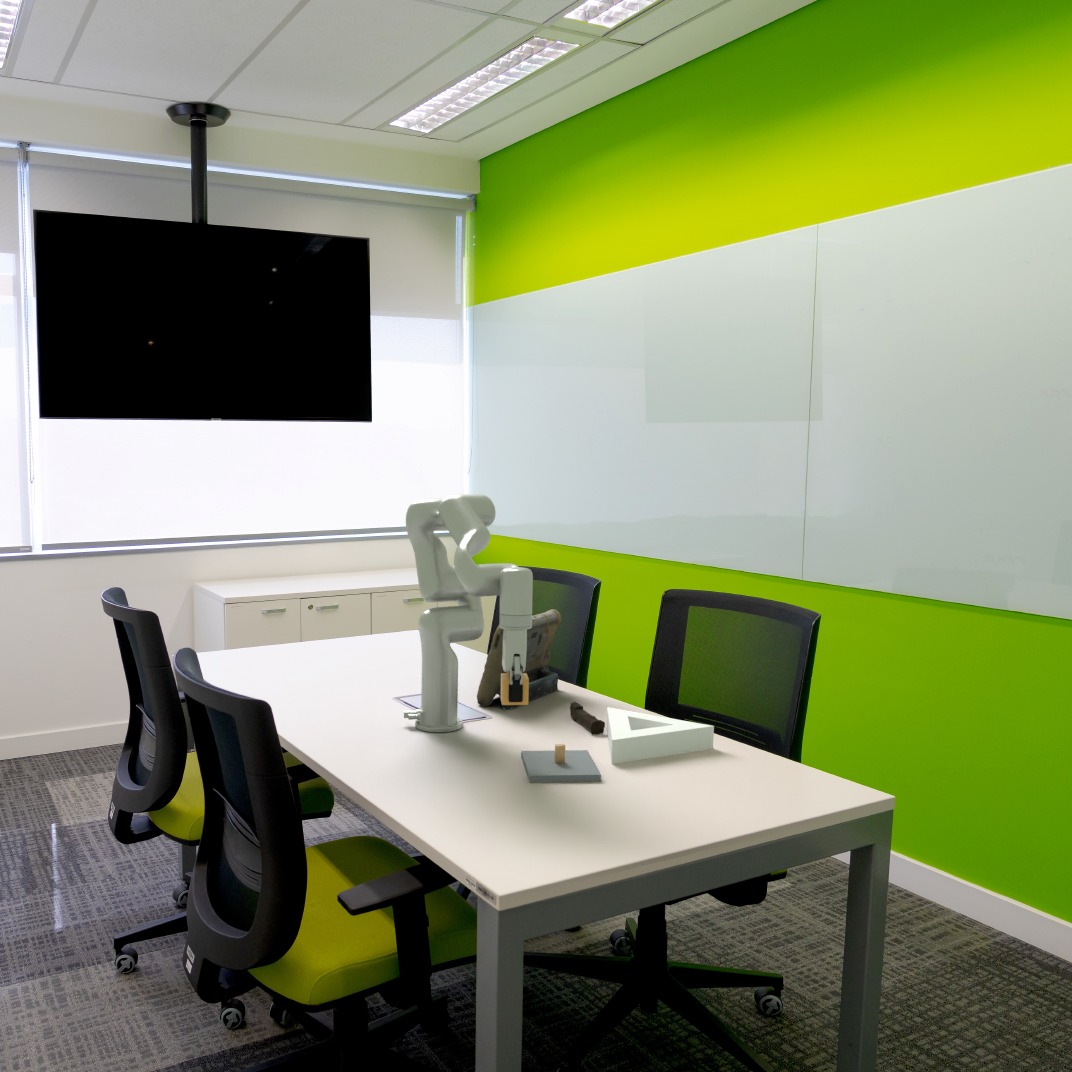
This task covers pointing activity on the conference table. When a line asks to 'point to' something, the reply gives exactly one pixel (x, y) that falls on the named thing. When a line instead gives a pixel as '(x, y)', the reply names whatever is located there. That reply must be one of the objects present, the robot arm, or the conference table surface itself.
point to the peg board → (560, 765)
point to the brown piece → (586, 719)
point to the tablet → (536, 661)
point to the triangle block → (653, 736)
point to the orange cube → (505, 689)
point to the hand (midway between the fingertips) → (514, 697)
